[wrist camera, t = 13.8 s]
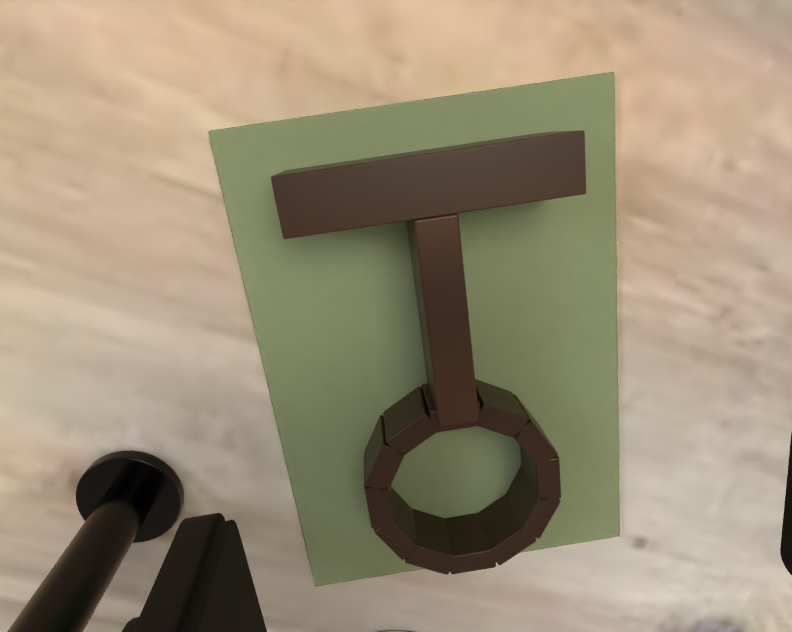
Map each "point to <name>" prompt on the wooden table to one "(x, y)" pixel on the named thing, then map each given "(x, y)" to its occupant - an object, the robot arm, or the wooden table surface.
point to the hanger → (445, 327)
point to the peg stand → (103, 537)
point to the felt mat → (400, 328)
